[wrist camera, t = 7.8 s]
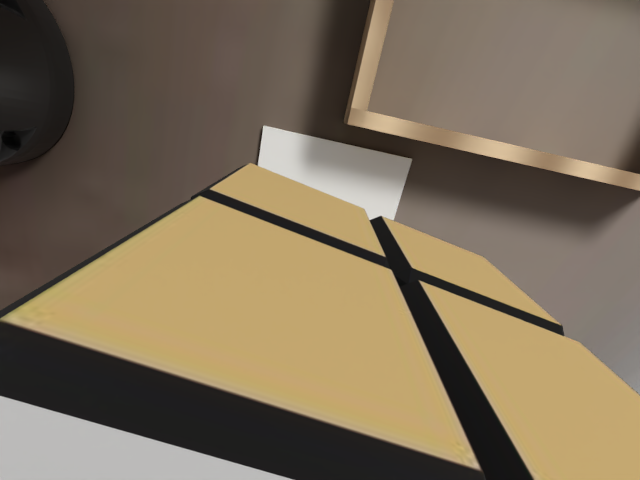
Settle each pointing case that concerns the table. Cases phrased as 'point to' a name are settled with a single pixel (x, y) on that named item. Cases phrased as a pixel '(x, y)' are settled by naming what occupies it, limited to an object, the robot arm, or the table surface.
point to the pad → (337, 169)
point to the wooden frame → (363, 118)
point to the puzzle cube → (299, 356)
